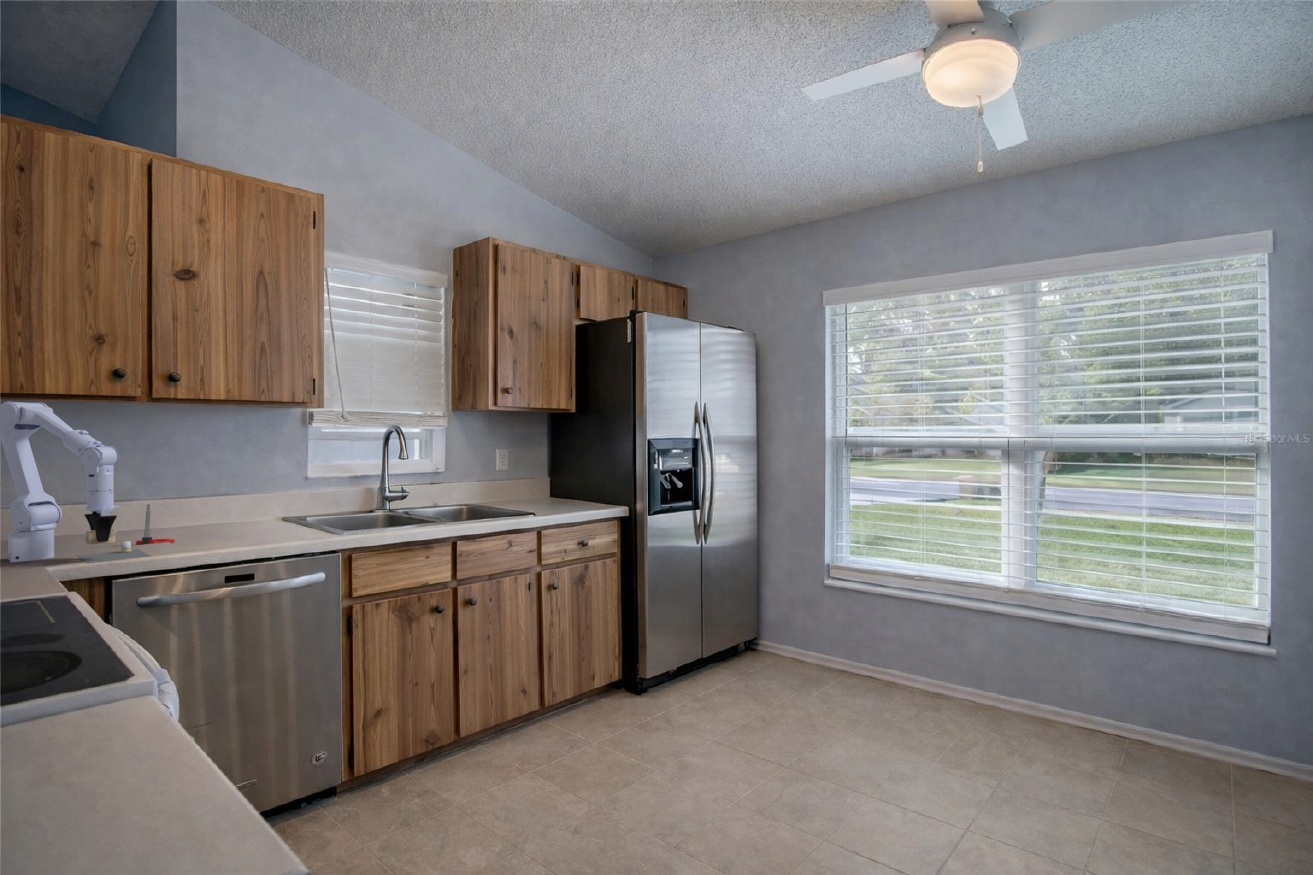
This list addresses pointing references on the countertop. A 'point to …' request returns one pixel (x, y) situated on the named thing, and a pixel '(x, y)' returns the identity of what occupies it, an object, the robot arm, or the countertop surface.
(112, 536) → the collar
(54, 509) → the robot arm
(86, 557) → the post mat
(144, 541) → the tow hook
